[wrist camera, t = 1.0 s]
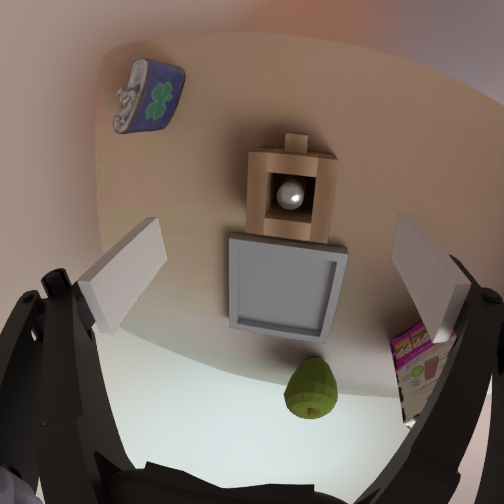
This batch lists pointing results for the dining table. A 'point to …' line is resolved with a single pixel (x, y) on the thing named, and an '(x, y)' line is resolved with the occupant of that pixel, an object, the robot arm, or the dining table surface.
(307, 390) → the apple
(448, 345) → the candy bar box
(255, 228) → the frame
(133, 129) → the flask
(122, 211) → the dining table surface
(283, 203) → the silver capsule
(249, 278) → the tray
